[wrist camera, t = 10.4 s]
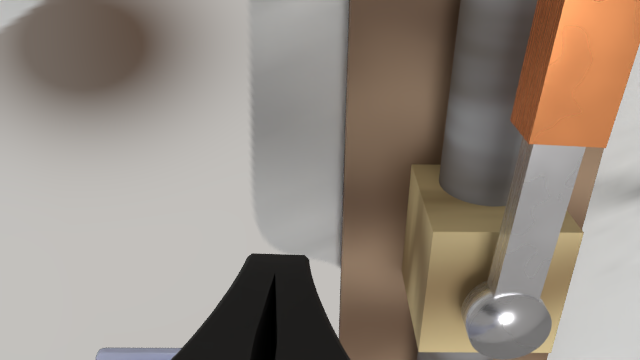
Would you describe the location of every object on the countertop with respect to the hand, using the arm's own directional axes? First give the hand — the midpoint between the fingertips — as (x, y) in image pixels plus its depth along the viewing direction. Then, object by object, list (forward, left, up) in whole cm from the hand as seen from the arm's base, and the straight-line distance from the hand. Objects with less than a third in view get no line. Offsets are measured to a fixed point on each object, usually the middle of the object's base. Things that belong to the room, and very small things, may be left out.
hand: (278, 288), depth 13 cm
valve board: (-4, -7, -10) cm, 13 cm away
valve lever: (+1, -7, -4) cm, 8 cm away
